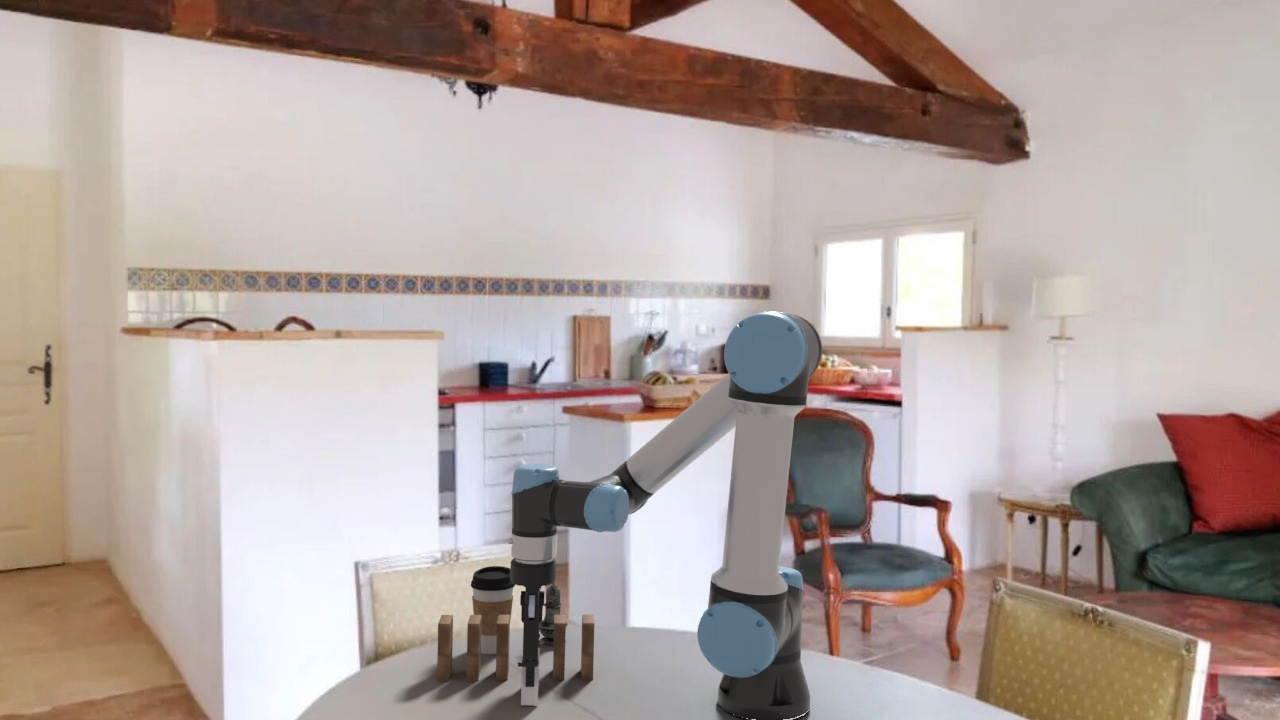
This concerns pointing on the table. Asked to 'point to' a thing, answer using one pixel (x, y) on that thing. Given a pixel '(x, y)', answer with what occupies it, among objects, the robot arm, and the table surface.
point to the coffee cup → (491, 602)
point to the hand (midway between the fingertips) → (530, 694)
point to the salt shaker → (550, 614)
